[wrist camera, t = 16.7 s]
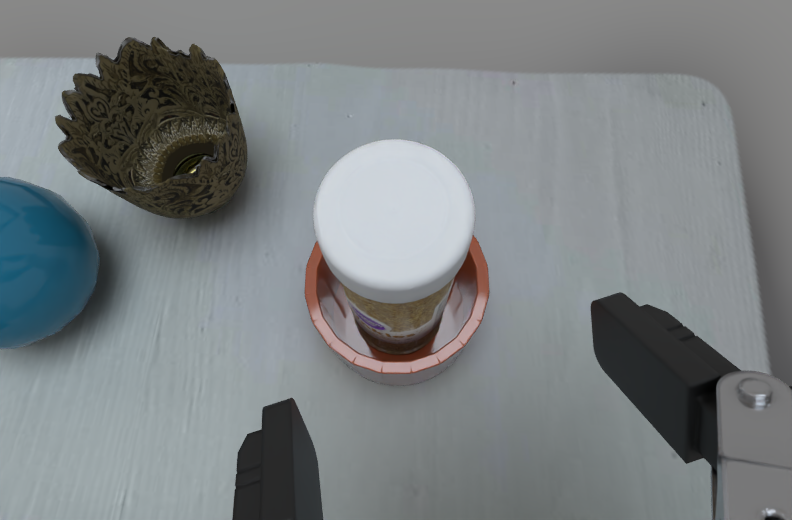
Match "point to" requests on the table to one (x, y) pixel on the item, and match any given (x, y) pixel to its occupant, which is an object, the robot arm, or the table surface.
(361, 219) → the sprinkles bottle
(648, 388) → the robot arm
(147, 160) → the cup
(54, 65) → the table surface
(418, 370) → the pot
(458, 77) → the table surface
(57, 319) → the ball
